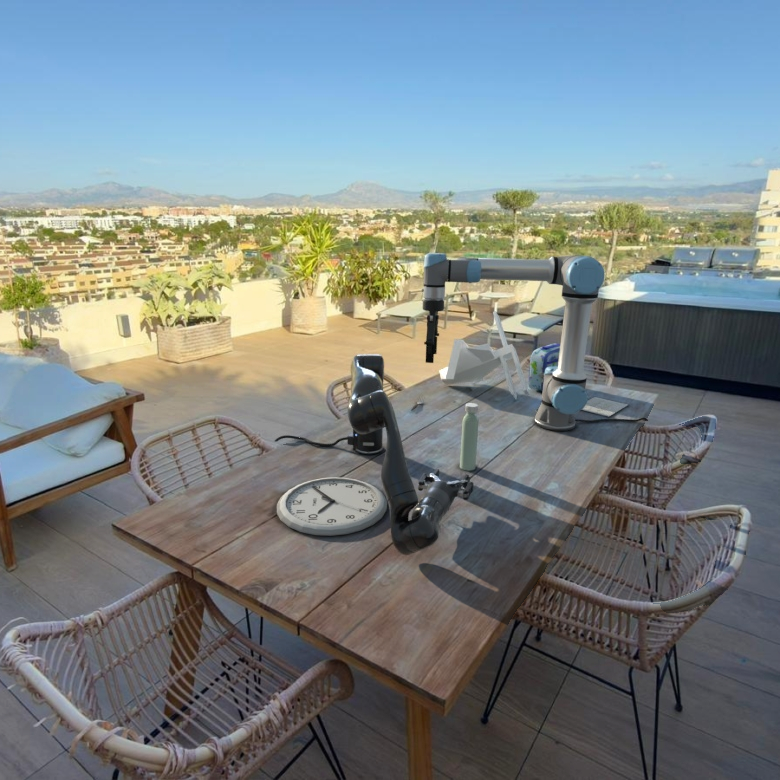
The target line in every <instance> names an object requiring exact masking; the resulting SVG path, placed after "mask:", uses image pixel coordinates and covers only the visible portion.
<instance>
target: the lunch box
mask: <svg viewBox="0 0 780 780" xmlns="http://www.w3.org/2000/svg"><path fill="white" fill-rule="evenodd" d="M560 344H561V343H551V344H548V345H544V346H541V347H538V348H536V349H534V350H533V351H532V353H531V355H530V359H529V370H528V371H529V372H528V389H531V390H536V391H541V392H543V382H544V373H545V369H546V368H547V367H553V366H557V367H558V361H559V353H560Z"/></svg>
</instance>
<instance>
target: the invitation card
mask: <svg viewBox="0 0 780 780" xmlns="http://www.w3.org/2000/svg"><path fill="white" fill-rule="evenodd" d="M628 406H629V404H627V403H623V402H618V401H614V400H609V399H605V398H601V397H596V396H593V397H592V398H590V399H587V403H586V405H585V407H584V408H583V409H582V410H581V411H584V412H587V413H593V414H596V415H600V416H604V417H608V418H609V417H611V416H613V415H614V414H616V413H617V412H619V411H621V410H623V409H624V408H626V407H628Z"/></svg>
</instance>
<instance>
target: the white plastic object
mask: <svg viewBox="0 0 780 780" xmlns="http://www.w3.org/2000/svg"><path fill="white" fill-rule="evenodd" d="M492 315H493V319H494V321H495V324H496V325H495V326H496V328H497V332H498V335H499V338H500V342H501V345H502V347H500V348H498V349H496V350H495V349H493V348H492V347H491V346H490V344H489V343H488V342H487V343H483V344H479V345H473V346H469V345H468V343H466V342H465V340H464V339H463V338H460V339H458V338H454V340H453V344H452V349H451V353H450V357H449V362H448V366H446V367H444V368H442V369H440V370H439V371H438V372H439V376H440V381H442V383H443V384H444V385H445V386H449V385H458V384H467V383H468V384H469V383H473V384H477V383H480V382H482V381H484V378H485V377H486V376H487V375H489V374H490V373H492V372H494V371H495V370H496V369H497V368H499V367H500V366H502V370H503V373H504V376H505V380H506V383H507V386H508V390H509V393H510V394H511V395H512V397H513V398H514V399H515V400H517V392H516V391H517V390H516V388H515V385H514V381H513V378H512V375H511V371H510V369H509V365H508V361H510V360H513V363H514V366H515V369H516V372H517V376H518V380H519V382H520V385H521V389H522V391H523V393H524V395H525V396H526V397H528V396H531V395H530V390H529V386H528V384H527V381H526V378H525V375H524V371H523V369H522V368H523V367H522V366H521V362H520V359H519V355H518V352H517V349H516V347H515V346H514V345H513V343H511V344H508V341H507V337H506V334H505V331H504V328H503V325H502V321H501V318H500V315H499V314H498V312H497V311H496V310H495V311H492Z"/></svg>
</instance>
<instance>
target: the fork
mask: <svg viewBox="0 0 780 780" xmlns="http://www.w3.org/2000/svg"><path fill="white" fill-rule="evenodd" d="M424 401H425V396H421V395H420V396H419V397H418V400H417V402H416V404H415V405H414V406H413V407H412V408H411V410H410V411H411V412H413V411H414V410H415V409H417V407H418V406H419V405H422V404H423V403H424Z"/></svg>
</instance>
